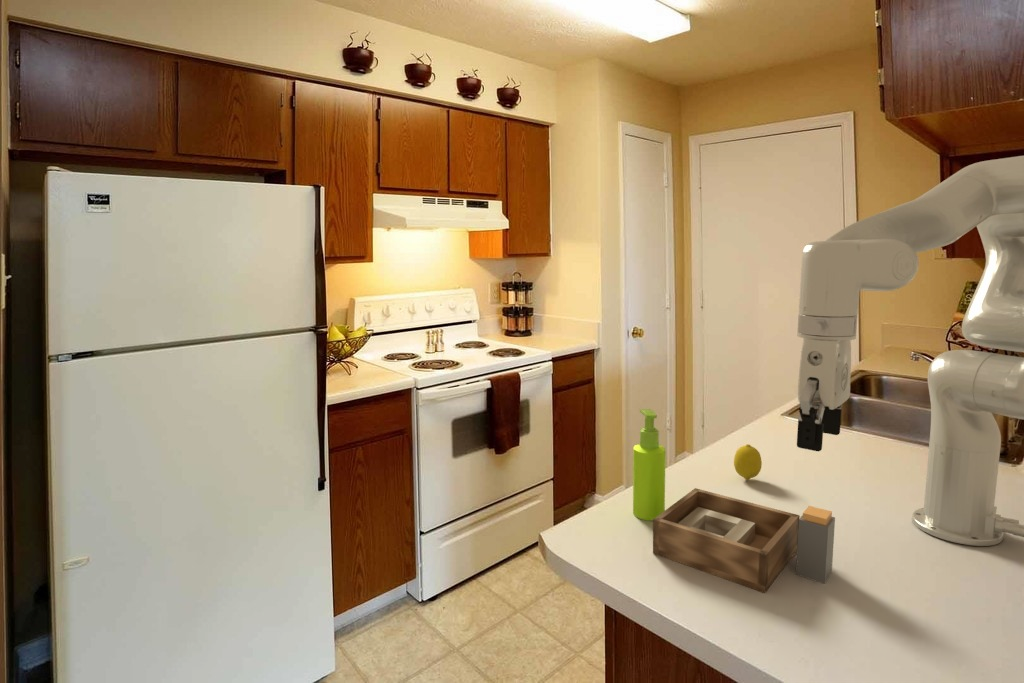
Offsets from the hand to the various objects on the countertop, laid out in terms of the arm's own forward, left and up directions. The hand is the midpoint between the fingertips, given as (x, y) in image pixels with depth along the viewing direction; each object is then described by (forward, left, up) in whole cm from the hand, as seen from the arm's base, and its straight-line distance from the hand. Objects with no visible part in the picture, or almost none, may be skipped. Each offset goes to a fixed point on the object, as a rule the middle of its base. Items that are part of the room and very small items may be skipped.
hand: (818, 440), depth 86 cm
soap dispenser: (+30, -3, -21) cm, 36 cm away
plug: (0, 0, -21) cm, 21 cm away
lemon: (+21, -30, -21) cm, 42 cm away
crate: (+13, +2, -21) cm, 25 cm away
